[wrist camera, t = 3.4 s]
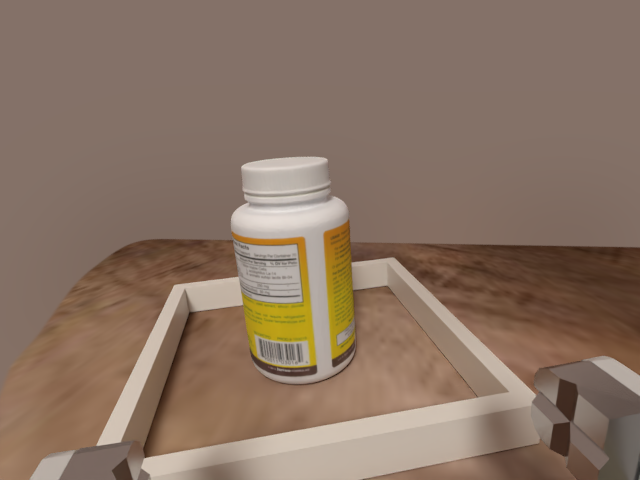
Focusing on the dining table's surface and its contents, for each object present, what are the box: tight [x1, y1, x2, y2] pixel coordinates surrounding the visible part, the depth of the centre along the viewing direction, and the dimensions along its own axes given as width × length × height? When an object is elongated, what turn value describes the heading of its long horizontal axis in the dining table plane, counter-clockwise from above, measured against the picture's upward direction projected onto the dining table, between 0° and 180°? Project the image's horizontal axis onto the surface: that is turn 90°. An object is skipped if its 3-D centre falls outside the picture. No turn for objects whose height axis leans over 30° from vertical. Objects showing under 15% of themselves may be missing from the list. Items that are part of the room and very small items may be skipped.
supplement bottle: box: [231, 157, 356, 384], centre depth 19 cm, size 6×6×10 cm
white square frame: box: [96, 257, 540, 480], centre depth 20 cm, size 16×16×2 cm
